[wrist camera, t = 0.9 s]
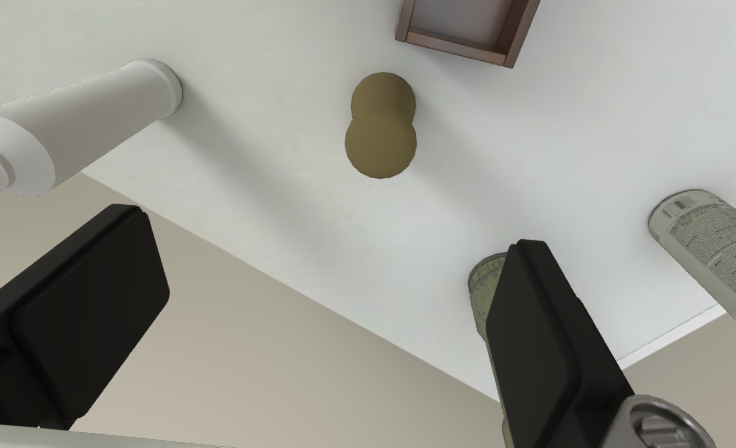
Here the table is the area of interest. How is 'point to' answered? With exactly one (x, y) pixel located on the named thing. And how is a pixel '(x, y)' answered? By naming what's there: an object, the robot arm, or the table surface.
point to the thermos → (481, 298)
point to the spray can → (701, 241)
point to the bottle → (80, 124)
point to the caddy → (468, 27)
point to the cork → (382, 126)
